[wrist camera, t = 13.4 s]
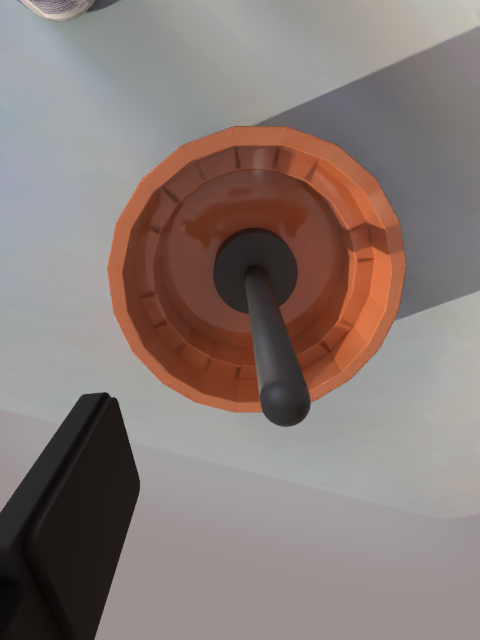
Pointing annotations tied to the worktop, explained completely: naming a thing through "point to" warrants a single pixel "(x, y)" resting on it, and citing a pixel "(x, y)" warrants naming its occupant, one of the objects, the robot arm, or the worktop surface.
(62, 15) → the energy drink
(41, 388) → the worktop surface
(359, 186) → the bowl
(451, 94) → the worktop surface
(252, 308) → the grey disc stick
